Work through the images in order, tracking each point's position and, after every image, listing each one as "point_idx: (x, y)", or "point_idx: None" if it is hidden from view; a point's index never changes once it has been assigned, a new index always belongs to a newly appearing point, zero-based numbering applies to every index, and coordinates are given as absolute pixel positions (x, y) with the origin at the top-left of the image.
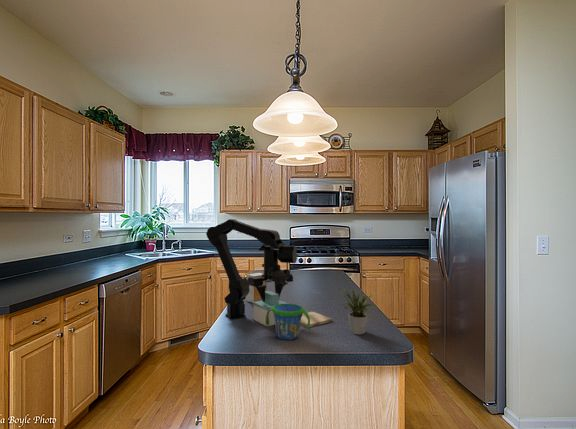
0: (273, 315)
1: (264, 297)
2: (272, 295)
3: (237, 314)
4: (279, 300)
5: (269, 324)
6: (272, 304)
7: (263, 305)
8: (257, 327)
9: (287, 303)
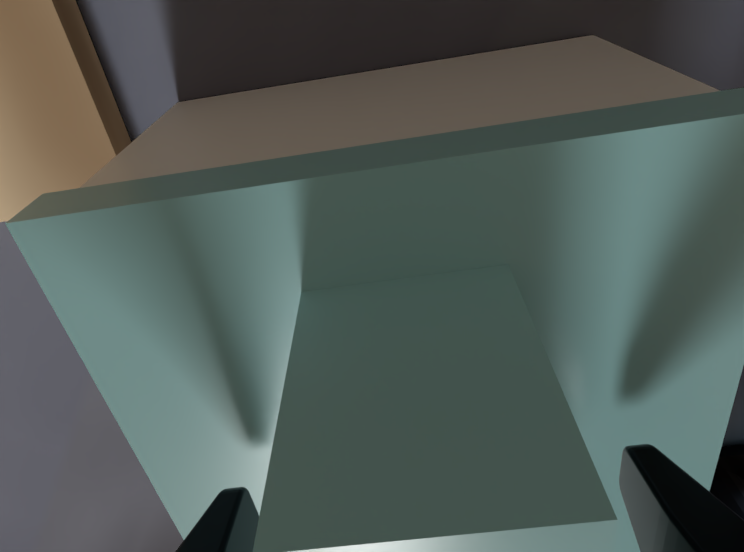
0: (490, 92)
1: (736, 547)
2: (610, 504)
3: (714, 488)
4: (175, 511)
5: (544, 45)
6: (511, 277)
7: (694, 345)
8: (741, 52)
9: (40, 264)
